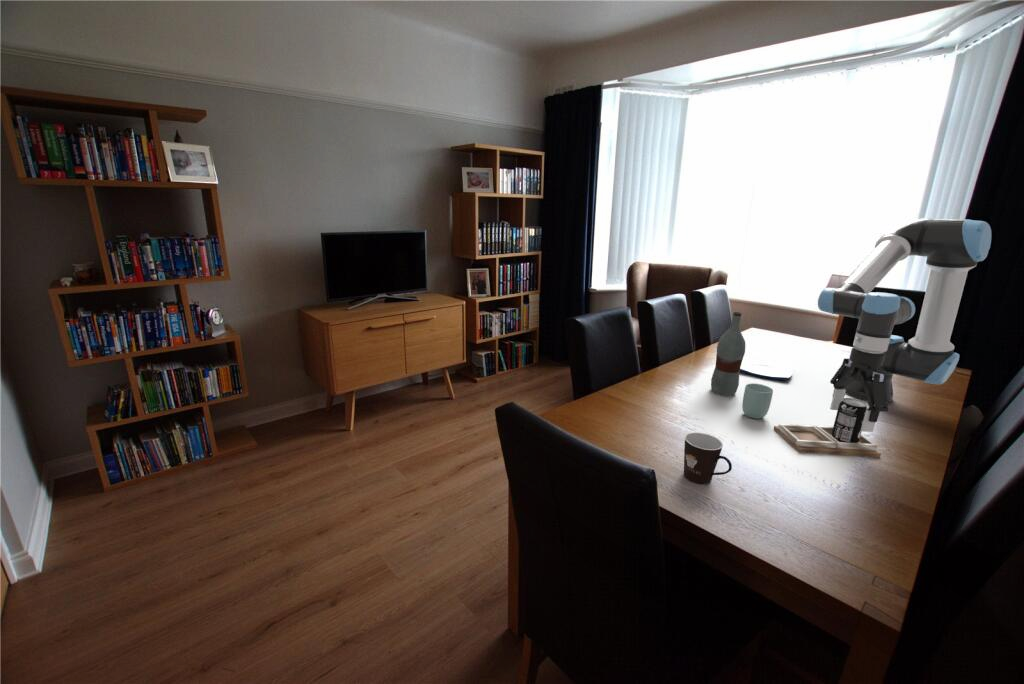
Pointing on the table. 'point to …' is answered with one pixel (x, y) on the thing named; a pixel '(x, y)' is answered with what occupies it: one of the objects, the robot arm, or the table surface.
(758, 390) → the cup
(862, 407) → the beverage can
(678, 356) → the table surface
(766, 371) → the plate
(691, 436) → the coffee mug
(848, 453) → the divided tray
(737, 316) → the bottle
